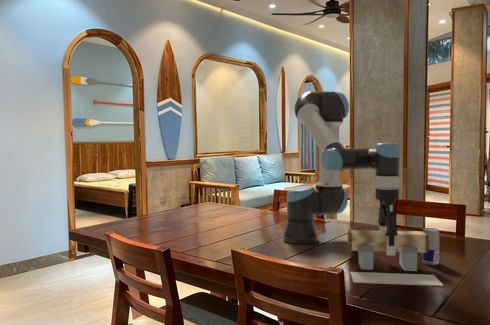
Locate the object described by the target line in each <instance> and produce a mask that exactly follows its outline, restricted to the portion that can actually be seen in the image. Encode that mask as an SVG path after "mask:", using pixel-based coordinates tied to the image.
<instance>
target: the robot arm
mask: <svg viewBox="0 0 490 325" xmlns="http://www.w3.org/2000/svg"><path fill="white" fill-rule="evenodd" d="M349 111H350V106H349V101H348V98H347V96H346V95H345V94H344V93H343V92H340V91H313V90H312V91H306V92H304V93H303V94H301V95H300V96H299V97H298V98H297V99H296V102H295V103H294V114H295V117H296V119H297V121H298V122H299V123H300V124H302V125H303V126H304V127H305V128H306V130H307V132H308V133H309V134H310V136H311V138H312V139H313V140H314V142H315V144H316V145H317V147H318V148H319V149H318V150H319V151H318V152H319V155H318V157H319V158H318V159H319V162H318V164H319V165H318V166H319V169H318V170H319V172H318V174H319V176H318V178H319V180H318V181H317V182H316V183H315V188H314V186H312V185H302V186H301V185H300V186H295V187H291V188H289V189H288V190H287V192H286V225H285V228H284V232H283V235H282V240H283V241H284V242H286V243H288V244H294V245H310V244H315V243H317V242H318V241H319V234H318V231H317V228H316V226H315V221H314V220H315V216H324V215H325V216H326V215H332V216H333V215H336V214H337V215H338V214H341V213H343V212H344V211H345V210H346V208H347V206H348V203H349V202H348V200H349V197H348V195H349V194H348V191H347V190H346V188H345V187H343V184H342V183H341V182H340V171H344V170H345V171H346V170H348V171H350V170H375V187H376V188H375V199H376V200H378V201H379V209H378V219H377V222H378V231H387V233H386V234H385V236H386V256H396V252H395V247H396V235H397V231H398V229H397V228H398V227H397V217H396V204H393V201H394V202H395V201H398V200H399V199H400V190H399V189H398V188H399V187H400V182H401V180H402V179H401V178H399V175H400V157H401V156H400V146H399V144H398V143H397V142H378V143H376V145H375V148H374V147H373V148H372V147H362V148H361V147H360V148H346V147H344V145H343V144H342V143H341V141H340V128H341V127H340V126H341V125H343V123H344V119H346V118H347V117H348V115H349ZM391 231H393V232H391Z"/></svg>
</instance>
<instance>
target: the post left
mask: <svg viewBox="0 0 490 325" xmlns="http://www.w3.org/2000/svg"><path fill="white" fill-rule="evenodd" d="M357 252H358V262H357V263H358V265H359V268H360V269H361V270H367V271H368V270H369V271H370V270H372V271H373V270H374V255H375V254H374V252H375V251H374V246H363V245H361V251H357Z"/></svg>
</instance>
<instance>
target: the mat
mask: <svg viewBox="0 0 490 325" xmlns="http://www.w3.org/2000/svg"><path fill="white" fill-rule="evenodd" d="M350 277H351V278H352V279H351V280H352V282H353V283H355V284H375V285H376V284H379V285H400V286H401V285H405V286H427V287H428V286H429V287H430V286H431V287H432V286H433V287H444V284H443V283H442V282H441V281H440V280H439V279H438V278H437V276H436V275H435V274H419V273H393V272H392V273H388V272H369V271H368V272H364V271H359V272H358V271H350Z"/></svg>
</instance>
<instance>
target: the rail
mask: <svg viewBox="0 0 490 325" xmlns="http://www.w3.org/2000/svg"><path fill="white" fill-rule="evenodd" d="M391 232H393V231H391ZM386 233H387V231H379V230H365V229H364V230H361V229H347V248H348V250H349V252H353V251H354V252H358V251H361V245H363V246H374V252H386V236H385V234H386ZM428 237H429V235H428V234H427V233H425V232H423V230H422V231H421V230H420V231H416V230H413V231H412V230H409V231H408V230H397V235H396V247H395V253H400V252H404V247H417V254H418V253H419V254H420V253H428Z"/></svg>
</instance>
